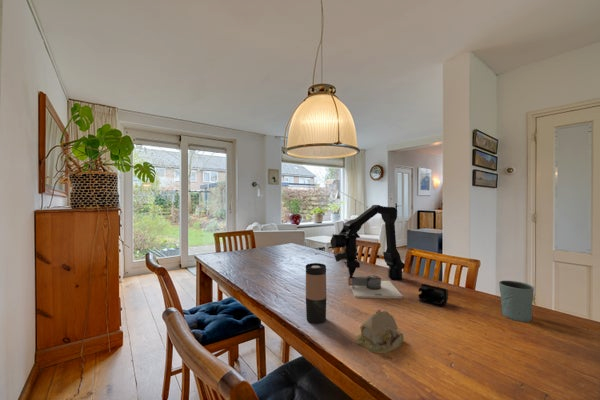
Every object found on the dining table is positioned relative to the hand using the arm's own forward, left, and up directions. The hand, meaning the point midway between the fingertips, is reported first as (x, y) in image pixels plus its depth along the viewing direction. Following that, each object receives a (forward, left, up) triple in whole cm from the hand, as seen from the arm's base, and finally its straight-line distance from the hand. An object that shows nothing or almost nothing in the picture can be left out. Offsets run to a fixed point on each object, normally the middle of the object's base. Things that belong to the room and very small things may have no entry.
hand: (350, 277), depth 133 cm
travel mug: (+18, +39, -4) cm, 43 cm away
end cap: (-32, +21, -4) cm, 38 cm away
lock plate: (-10, +7, -4) cm, 13 cm away
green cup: (-57, +33, -4) cm, 66 cm away
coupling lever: (-6, +6, -3) cm, 9 cm away
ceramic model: (-2, +52, -4) cm, 52 cm away
